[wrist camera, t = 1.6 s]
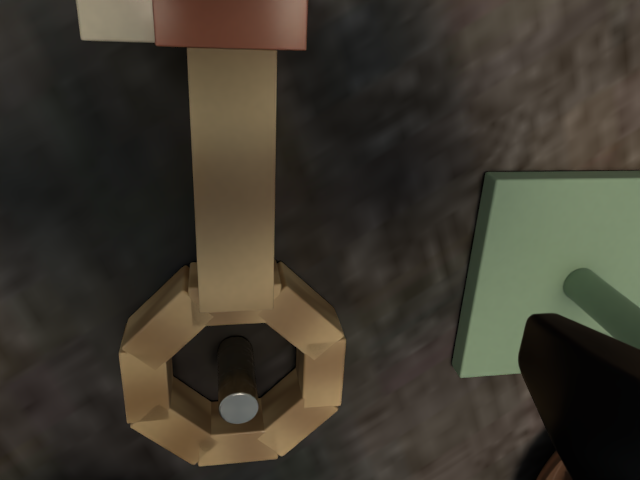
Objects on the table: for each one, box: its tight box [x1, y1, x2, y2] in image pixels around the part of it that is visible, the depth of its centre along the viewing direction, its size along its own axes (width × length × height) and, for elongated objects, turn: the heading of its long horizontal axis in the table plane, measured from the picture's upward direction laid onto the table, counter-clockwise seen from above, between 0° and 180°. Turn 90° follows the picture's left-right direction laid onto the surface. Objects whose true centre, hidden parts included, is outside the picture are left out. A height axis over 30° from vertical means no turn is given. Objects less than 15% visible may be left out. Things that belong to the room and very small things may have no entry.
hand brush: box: [76, 0, 346, 466], centre depth 19 cm, size 22×8×3 cm, turn 178°
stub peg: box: [218, 337, 259, 424], centre depth 21 cm, size 1×1×4 cm
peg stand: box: [452, 171, 640, 378], centre depth 20 cm, size 9×9×8 cm
